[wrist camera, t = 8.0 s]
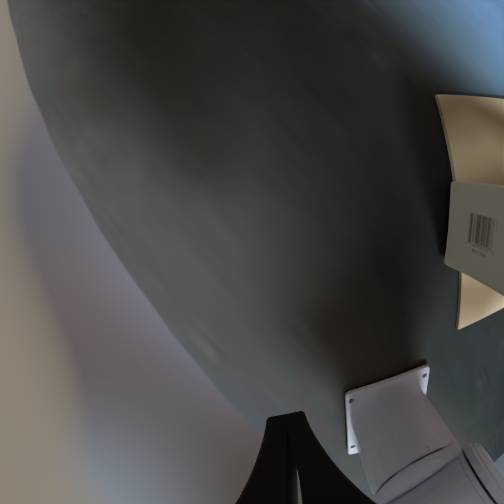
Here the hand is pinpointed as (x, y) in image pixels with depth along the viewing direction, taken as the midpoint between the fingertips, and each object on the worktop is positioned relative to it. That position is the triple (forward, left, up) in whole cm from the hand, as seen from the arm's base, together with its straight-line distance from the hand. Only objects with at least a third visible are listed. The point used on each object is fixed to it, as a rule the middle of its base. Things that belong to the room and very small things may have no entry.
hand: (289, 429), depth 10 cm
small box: (+4, -14, -6) cm, 15 cm away
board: (+4, -22, -10) cm, 25 cm away
